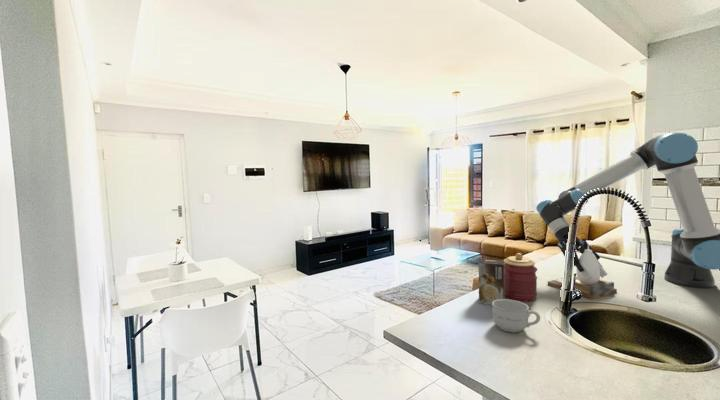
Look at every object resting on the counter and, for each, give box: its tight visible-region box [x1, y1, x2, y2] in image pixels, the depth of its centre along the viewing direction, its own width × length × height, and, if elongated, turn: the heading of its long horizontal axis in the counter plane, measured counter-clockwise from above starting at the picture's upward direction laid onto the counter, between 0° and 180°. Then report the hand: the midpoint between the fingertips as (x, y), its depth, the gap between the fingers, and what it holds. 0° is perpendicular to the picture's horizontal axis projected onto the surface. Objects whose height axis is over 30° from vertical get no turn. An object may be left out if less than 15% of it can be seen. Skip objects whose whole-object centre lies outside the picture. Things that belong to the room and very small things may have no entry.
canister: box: [503, 252, 538, 303], centre depth 129 cm, size 13×13×18 cm
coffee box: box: [478, 258, 505, 306], centre depth 124 cm, size 9×6×16 cm
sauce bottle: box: [576, 243, 601, 286], centre depth 131 cm, size 8×8×18 cm
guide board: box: [547, 276, 618, 300], centre depth 135 cm, size 16×18×4 cm
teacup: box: [491, 298, 541, 333], centre depth 102 cm, size 14×11×8 cm
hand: (597, 277), depth 128 cm, fingers closed on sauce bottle, 7 cm apart
